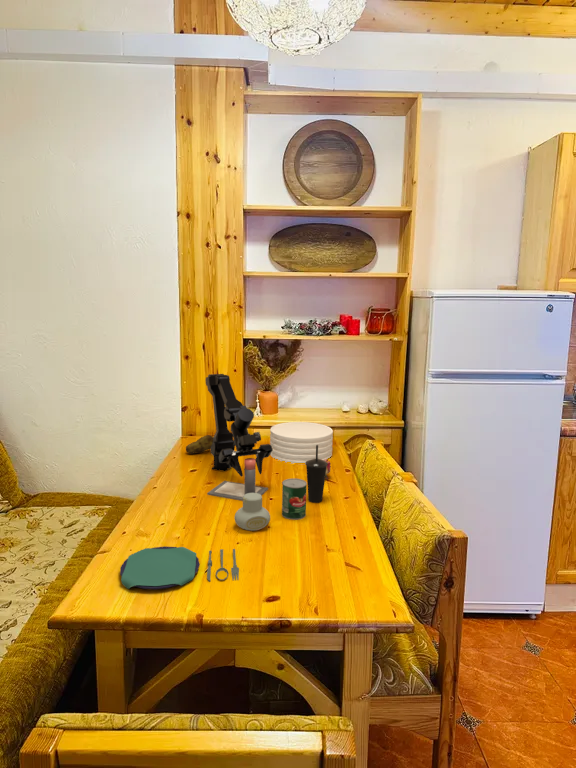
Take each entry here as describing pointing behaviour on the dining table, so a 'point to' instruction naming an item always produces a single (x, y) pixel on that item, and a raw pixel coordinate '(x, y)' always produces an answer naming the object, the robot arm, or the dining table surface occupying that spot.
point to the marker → (249, 475)
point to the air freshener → (252, 513)
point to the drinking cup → (316, 478)
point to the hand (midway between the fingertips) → (251, 474)
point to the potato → (200, 445)
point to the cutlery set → (166, 567)
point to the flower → (327, 468)
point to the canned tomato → (294, 499)
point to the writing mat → (233, 490)
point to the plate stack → (300, 441)
